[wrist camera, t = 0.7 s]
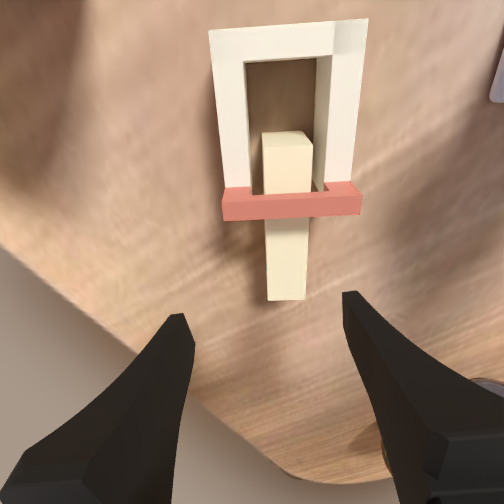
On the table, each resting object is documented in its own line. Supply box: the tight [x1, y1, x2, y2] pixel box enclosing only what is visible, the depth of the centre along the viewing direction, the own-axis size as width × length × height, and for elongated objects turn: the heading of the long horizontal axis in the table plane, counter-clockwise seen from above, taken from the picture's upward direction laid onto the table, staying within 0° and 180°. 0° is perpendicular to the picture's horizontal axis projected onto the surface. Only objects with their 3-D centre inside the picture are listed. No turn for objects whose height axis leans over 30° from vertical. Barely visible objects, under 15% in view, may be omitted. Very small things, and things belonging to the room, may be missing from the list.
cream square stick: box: [262, 131, 313, 301], centre depth 20 cm, size 3×10×4 cm, turn 3°
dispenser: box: [208, 18, 369, 221], centre depth 16 cm, size 7×8×6 cm
